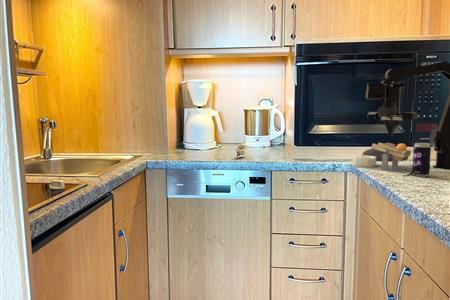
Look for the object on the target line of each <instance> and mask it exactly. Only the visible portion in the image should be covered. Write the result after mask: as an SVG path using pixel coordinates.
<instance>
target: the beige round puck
mask: <svg viewBox="0 0 450 300" xmlns="http://www.w3.org/2000/svg"><path fill="white" fill-rule="evenodd" d="M352 164H353V165H354V166H360V167H374V166H376V164H377V161H376V157H374V156H367V155H362V154H361V155H360V154H359V155H358V154H357V155H353V156H352Z"/></svg>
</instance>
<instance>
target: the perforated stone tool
mask: <svg viewBox="0 0 450 300" xmlns="http://www.w3.org/2000/svg"><path fill="white" fill-rule="evenodd" d="M382 154H387V155H389V156H388V162H392V154H389V153H385V152H383V151H380V150H376V149H373V148H372V147H371V148H369V149H366V150H365V151H363V152H362V153H361V155H367V156H374V157H376V162H378V161H381V162H382Z"/></svg>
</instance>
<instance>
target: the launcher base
mask: <svg viewBox="0 0 450 300" xmlns="http://www.w3.org/2000/svg"><path fill="white" fill-rule="evenodd" d="M388 156H389V155H387V154H382V161H381V164H380V163H376V166H374V167H360V166H354V165H353V163H351V164H346V165H345V166H346V167H351V168H360V169H364V170H365V169H367V170H374V171H382V172H387V173H389V172H390V173H396V174H402V177H406V176H409V175H414V174H413V173H412V167H408V166H407V167H406V166H399V160H396V159H394V155H392V161H391V164H389V161H388Z"/></svg>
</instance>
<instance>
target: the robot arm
mask: <svg viewBox="0 0 450 300" xmlns="http://www.w3.org/2000/svg"><path fill="white" fill-rule="evenodd" d="M432 73H433V74H435V73H440V74H441V75H442V76H443V77H445V78H446V79H447V80H449V81H448V92H449V94H448V97H447V99H446V102H445V106H444V108H443V112H442V115H441V119H440V121H439V124H438V126H437V128H436V129H431V131H430V135H429V137H428V140H429V144H430V146H431V148H433V150H434V152H436V156H435V157H436V159H435V164H434V165H432V168H437V169H438V168H439V169H447V170H450V62H448V61H447V60H444V61H443V60H442V61H439V62H435V63H430V64H423V65H419V66H412V67H393V68H389V69H388V70H387V71H386V72H385V73H384V78H383V79H382V80H381V81H380V82H376V83H375V82H374V83H373V82H368V83H367V84H366V85H367V86H366V90H365V99H366V100H381V99H382V98H383V97H384V101H383V102H382V105H381V106H379V108H378V109H377V111H369V112H367V116H366V117H367V120H368V119H369V120H370V119H371V120H372V119H373V120H374V119H379V121H381V122H383V124H384V125H385V127H386V130H387V131H386V132H387V133H388V136H389V137H393V135H394V133H395V131H396V130H397V127H398V126H399V124H400V123H401V122H403V121H404V120H408V121H409V120H410V121H411V120H412V121H413V120H418V113H417V112H415V111H410V112H409V111H408V112H406V111H405V112H402V113H401V111H400V108H401V107H400V106H401V105H400V104H402V101H401V89H404V88H407V85H405V84H404V83H403V82H402V81H403V80H405V79H408V78H410V77H411V78H412V77H418V76H422V75H428V74H432ZM397 82H399V83H397ZM387 85H390V86H387ZM391 118H392V119H391Z"/></svg>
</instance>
